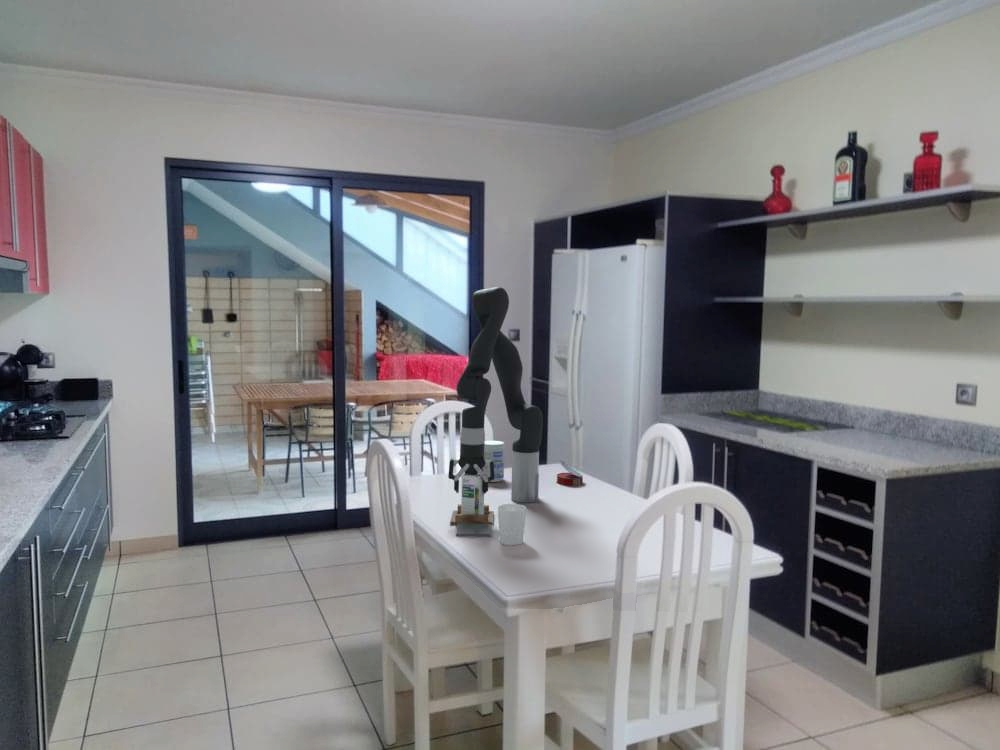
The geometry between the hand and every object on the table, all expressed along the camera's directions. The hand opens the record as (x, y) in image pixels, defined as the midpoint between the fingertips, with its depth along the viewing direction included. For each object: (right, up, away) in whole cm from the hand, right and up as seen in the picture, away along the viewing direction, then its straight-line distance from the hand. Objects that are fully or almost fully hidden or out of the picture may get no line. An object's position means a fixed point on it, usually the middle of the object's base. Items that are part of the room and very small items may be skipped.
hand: (471, 492), depth 227 cm
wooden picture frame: (0, -9, +1) cm, 9 cm away
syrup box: (0, -9, +1) cm, 9 cm away
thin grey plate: (+1, -10, -11) cm, 15 cm away
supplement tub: (+6, -4, +53) cm, 54 cm away
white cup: (+12, -11, -20) cm, 26 cm away
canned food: (+36, -5, +51) cm, 63 cm away
